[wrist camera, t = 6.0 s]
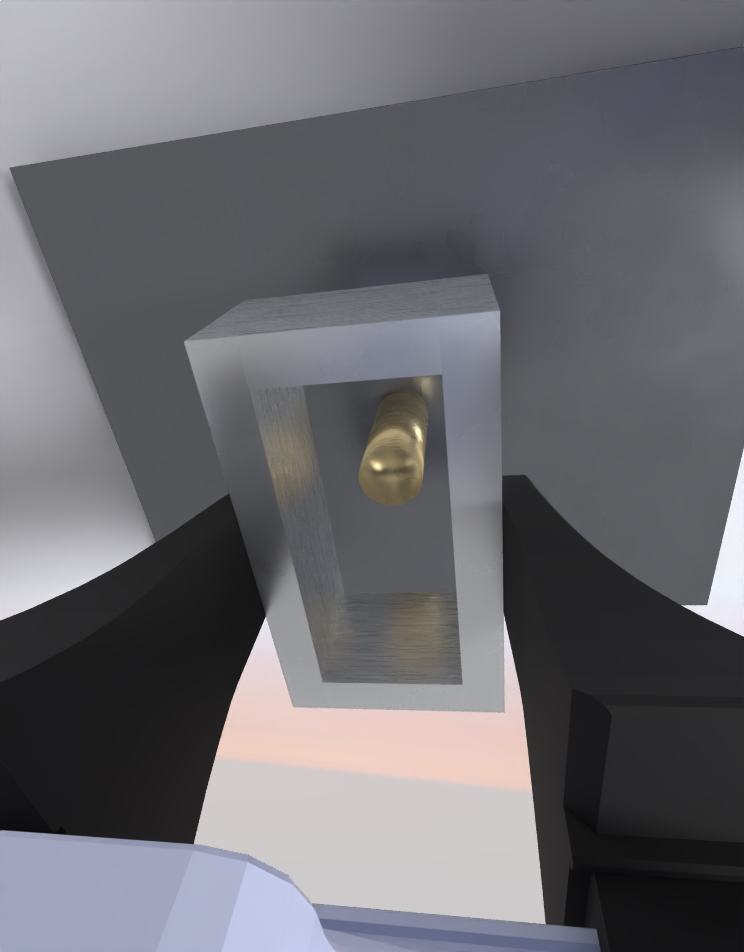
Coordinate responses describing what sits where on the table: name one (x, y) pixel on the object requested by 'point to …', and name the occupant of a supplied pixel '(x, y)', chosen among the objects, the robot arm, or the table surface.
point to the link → (303, 499)
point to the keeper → (439, 257)
